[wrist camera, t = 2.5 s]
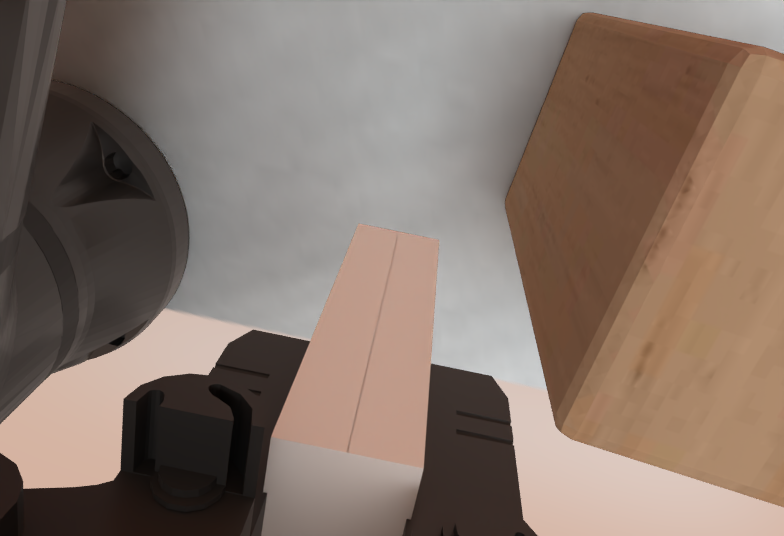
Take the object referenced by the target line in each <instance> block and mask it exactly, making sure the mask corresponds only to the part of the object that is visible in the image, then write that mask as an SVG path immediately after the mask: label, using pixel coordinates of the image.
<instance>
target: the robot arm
mask: <svg viewBox="0 0 784 536" xmlns="http://www.w3.org/2000/svg"><path fill="white" fill-rule="evenodd" d="M66 1H67V0H0V424H1V423H2V422H3V420H5V419H6V418H7V417H8V416H9V415H10V414H11V413H12V412H13V411H14V410H15V409H16V408H17V407H18V406H19V405H20V404H21V403H22V402H23V401H24V400H25V399H26V398H27V397H28V396H29V395H30V394H31V393H32V392H33V391H34V390H35V389H36V388H37V387H38V386H39V385H40V384H41V383H42V382H43V381H44V380H45V379H46V378H47V377H49V376H50V375H51V374H52V373H55V372H58V371H61V370H63V369H66V368H69V367H72V366H75V365H77V364H80V363H82V362H85V361H86V360H89V359H93V358H96V357H99V356H102V355H104V354H107V353H109V352H112V351H114V350H116V349H118V348H120V347H122V346H124V345H125V344H127V343H128V342H130V341H131V340H133V339H134V338H135V337H137V336H138V335H139V334H140V333H141V332H143V330H145V329H146V328H147V327H148V326H149V324H151V322H152V321H153V320H154V319H155V318H156V317H157V316H158V315H159V314H160V312H161V311H162V310H163V309H164V308H165V307H166V306H167V304H168V303H169V302H170V300H171V299H172V297H173V295H174V294H175V292H176V290H177V288H178V286H179V284H180V282H181V279H182V276H183V273H184V270H185V266H186V261H187V255H188V244H189V234H188V222H187V215H186V210H185V206H184V202H183V199H182V196H181V193H180V190H179V187H178V185H177V183H176V180H175V178H174V176H173V174H172V172H171V170H170V168H169V166H168V165H167V163H166V161H165V160H164V158H163V157H162V155H161V154H160V152H159V151H158V149H157V148H156V147H155V146H154V144H153V143H152V142H151V140H150V139H149V138H148V137H147V136H146V135H145V134H144V133H143V131H142V130H141V129H140V128H139V127H137V126H136V125H135V124H134V123H133V122H132V121H131V120H130V119H129V118H128V117H126V116H125V115H124V114H123V113H121V112H120V111H119V110H117V109H116V108H115V107H113V106H112V105H110V104H109V103H107V102H105V101H104V100H102V99H100V98H98V97H97V96H95V95H93V94H91V93H89V92H87V91H84V90H82V89H79V88H77V87H74V86H71V85H68V84H65V83H62V82H58V81H54V80H51V79H52V74H53V68H54V63H55V58H56V53H57V48H58V42H59V37H60V32H61V27H62V22H63V16H64V11H65V6H66ZM438 250H439V240H437V239H432V238H427V237H422V236H418V235H413V234H408V233H403V232H398V231H393V230H388V229H383V228H378V227H373V226H368V225H364V224H358V227H357V229H356V231H355V234H354V236H353V239H352V241H351V244H350V246H349V248H348V251H347V253H346V256H345V258H344V261H343V263H342V265H341V268H340V270H339V273H338V275H337V278H336V280H335V282H334V285H333V287H332V290H331V292H330V295H329V297H328V299H327V302H326V304H325V307H324V309H323V312H322V314H321V316H320V319H319V321H318V324H317V326H316V329H315V331H314V334H313V336H312V338H311V341H306V340H301V339H296V338H291V337H286V336H281V335H277V334H272V333H267V332H262V331H257V330H252V331H250V332H248V333H246V334H245V335H243V336H241V337H239V338H238V339H236V340H234V341H232V342H230V343H229V344H228V346H227V347H226V348H225V350H224V351H223V353H222V355H221V356H220V358H219V359H218V361H217V362H216V366H215V368H214V367H213V369H212V370H211V372H210V373H209V375H199V374H183V375H175V376H166V377H162V378H159V379H157V380H154V381H151V382H148V383H146V384H143V385H140V386H139V387H138V388H137V389H135V390H134V391H133V392H132V393H130V394H129V395H128V396H127V397H126V398H124V405H123V426H122V429H123V430H122V450H121V471H120V472H119V474H118V475H117V476H116V478H115V479H114V481H110V482H106V483H102V484H99V485H91V486H82V487H69V488H39V489H38V488H36V489H23V480H22V477H21V475H20V472H19V470H18V467H17V465H16V464H15V463H14V462H12V461H11V460H10V459H8V458H7V457H5V456H4V455H2V454H1V453H0V536H537V535H536V534H535V532H534V531H533V530H532V529H531V528H530V527H529V526H528V524H527V523H526V522H525V521H524V520H523V515H522V507H521V498H520V490H519V482H518V474H517V467H516V458H515V450H514V446H513V434H512V427H511V426H510V423H511V419H510V411H509V403H508V398H507V396H506V395H505V394H504V393H503V391H502V390H501V388H500V387H499V386H498V385H497V383H496V381H495V380H494V379H493V377H492V376H489V375H484V374H479V373H474V372H469V371H464V370H459V369H454V368H450V367H445V366H440V365H435V364H431V353H432V338H433V323H434V309H435V294H436V279H437V265H438Z"/></svg>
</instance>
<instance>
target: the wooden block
mask: <svg viewBox="0 0 784 536" xmlns="http://www.w3.org/2000/svg"><path fill="white" fill-rule="evenodd" d="M505 209H506V213H507V217H508V222H509V226H510V230H511V235H512V239H513V243H514V248H515V252H516V256H517V261H518V265H519V269H520V274H521V278H522V282H523V287H524V291H525V295H526V300H527V304H528V308H529V313H530V317H531V321H532V326H533V330H534V334H535V339H536V343H537V347H538V352H539V356H540V360H541V364H542V369H543V373H544V377H545V382H546V386H547V390H548V394H549V399H550V403H551V408H552V412H553V416H554V421H555V425H556V427H557V428H558V430H559V431H560V432H561V433H563V434H564V435H566V436H567V437H569V438H570V439H572V440H575V441H578V442H581V443H584V444H587V445H591V446H594V447H597V448H600V449H603V450H606V451H609V452H612V453H616V454H619V455H622V456H625V457H628V458H631V459H634V460H638V461H641V462H644V463H647V464H650V465H653V466H657V467H659V468H663V469H666V470H669V471H672V472H675V473H679V474H682V475H684V476H688V477H691V478H694V479H697V480H700V481H703V482H706V483H709V484H713V485H716V486H719V487H722V488H725V489H728V490H732V491H735V492H738V493H741V494H744V495H747V496H750V497H753V498H756V499H760V500H763V501H766V502H769V503H772V504H775V505H778V506H782V507H784V54H782V53H779V52H776V51H774V50H771V49H768V48H765V47H761V46H756V45H751V44H746V43H741V42H736V41H731V40H726V39H721V38H716V37H711V36H706V35H701V34H696V33H691V32H686V31H682V30H677V29H672V28H667V27H662V26H657V25H652V24H647V23H642V22H637V21H632V20H627V19H622V18H617V17H612V16H607V15H602V14H597V13H583V14H582V15H581V16H580V17H579V19H578V20H577V22H576V24H575V27H574V29H573V32H572V34H571V37H570V39H569V42H568V44H567V47H566V49H565V52H564V54H563V57H562V59H561V62H560V64H559V67H558V69H557V72H556V74H555V77H554V79H553V82H552V84H551V87H550V89H549V92H548V94H547V97H546V99H545V102H544V104H543V107H542V109H541V112H540V114H539V117H538V119H537V122H536V124H535V127H534V129H533V132H532V134H531V137H530V140H529V142H528V145H527V147H526V150H525V152H524V155H523V157H522V160H521V162H520V165H519V167H518V170H517V172H516V175H515V177H514V180H513V182H512V185H511V187H510V190H509V192H508V195H507V197H506V200H505Z"/></svg>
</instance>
